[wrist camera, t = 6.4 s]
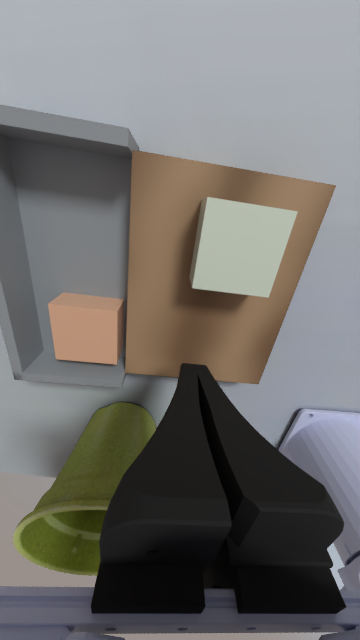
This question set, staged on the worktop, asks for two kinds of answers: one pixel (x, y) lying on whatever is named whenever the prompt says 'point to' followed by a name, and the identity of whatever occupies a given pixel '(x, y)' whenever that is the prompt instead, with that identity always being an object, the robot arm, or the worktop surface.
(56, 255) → the tray
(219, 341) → the board
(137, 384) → the worktop surface
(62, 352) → the tile terracotta
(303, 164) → the worktop surface
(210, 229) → the tile sage
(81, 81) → the worktop surface
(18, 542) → the plant pot
